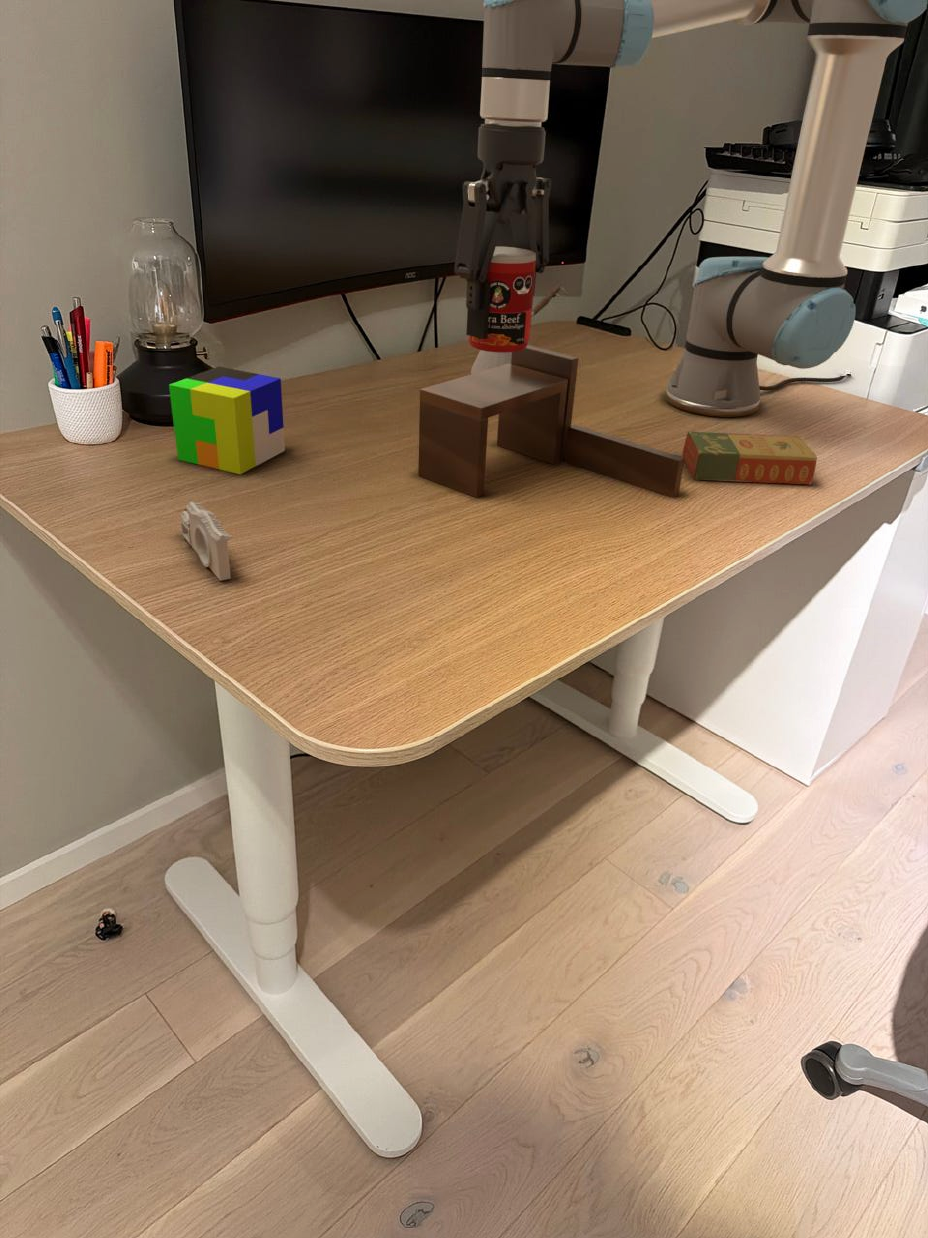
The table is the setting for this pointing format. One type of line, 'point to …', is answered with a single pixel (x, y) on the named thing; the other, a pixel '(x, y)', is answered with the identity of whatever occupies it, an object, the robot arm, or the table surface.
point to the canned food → (509, 300)
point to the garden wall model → (207, 539)
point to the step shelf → (526, 427)
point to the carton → (749, 458)
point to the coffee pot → (496, 359)
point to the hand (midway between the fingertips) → (499, 330)
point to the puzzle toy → (228, 419)
